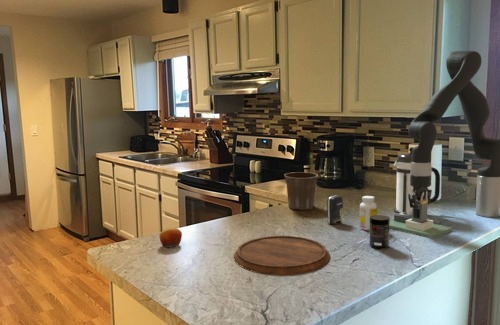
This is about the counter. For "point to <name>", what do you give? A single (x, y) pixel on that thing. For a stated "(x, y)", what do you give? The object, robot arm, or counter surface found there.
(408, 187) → the coffee press
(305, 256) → the cutting board
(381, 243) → the supplement container
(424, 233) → the header board
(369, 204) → the supplement bottle
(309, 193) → the plant pot
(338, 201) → the battery charger
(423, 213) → the plug
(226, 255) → the counter surface
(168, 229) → the fruit
